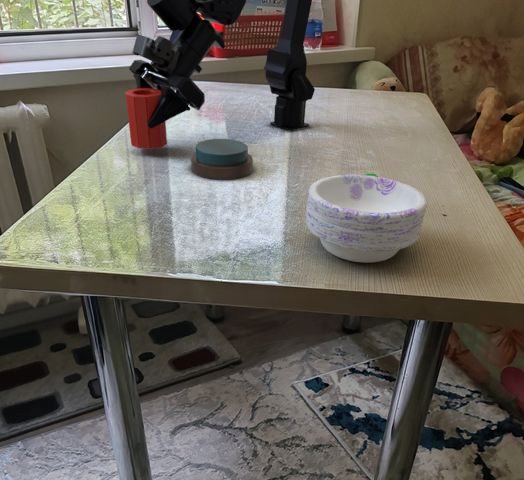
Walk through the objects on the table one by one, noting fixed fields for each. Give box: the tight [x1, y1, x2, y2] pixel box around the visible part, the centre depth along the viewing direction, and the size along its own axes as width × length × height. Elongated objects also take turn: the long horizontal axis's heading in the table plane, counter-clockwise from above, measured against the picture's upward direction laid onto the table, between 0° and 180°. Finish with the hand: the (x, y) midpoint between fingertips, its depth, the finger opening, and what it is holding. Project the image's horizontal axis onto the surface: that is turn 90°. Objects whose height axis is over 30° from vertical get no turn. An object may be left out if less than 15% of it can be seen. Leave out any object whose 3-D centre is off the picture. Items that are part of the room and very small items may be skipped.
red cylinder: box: [125, 88, 168, 150], centre depth 101 cm, size 7×7×9 cm
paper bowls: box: [305, 174, 428, 264], centre depth 73 cm, size 15×15×8 cm
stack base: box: [190, 138, 254, 181], centre depth 97 cm, size 11×11×4 cm
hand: (140, 122), depth 101 cm, fingers closed on red cylinder, 7 cm apart
